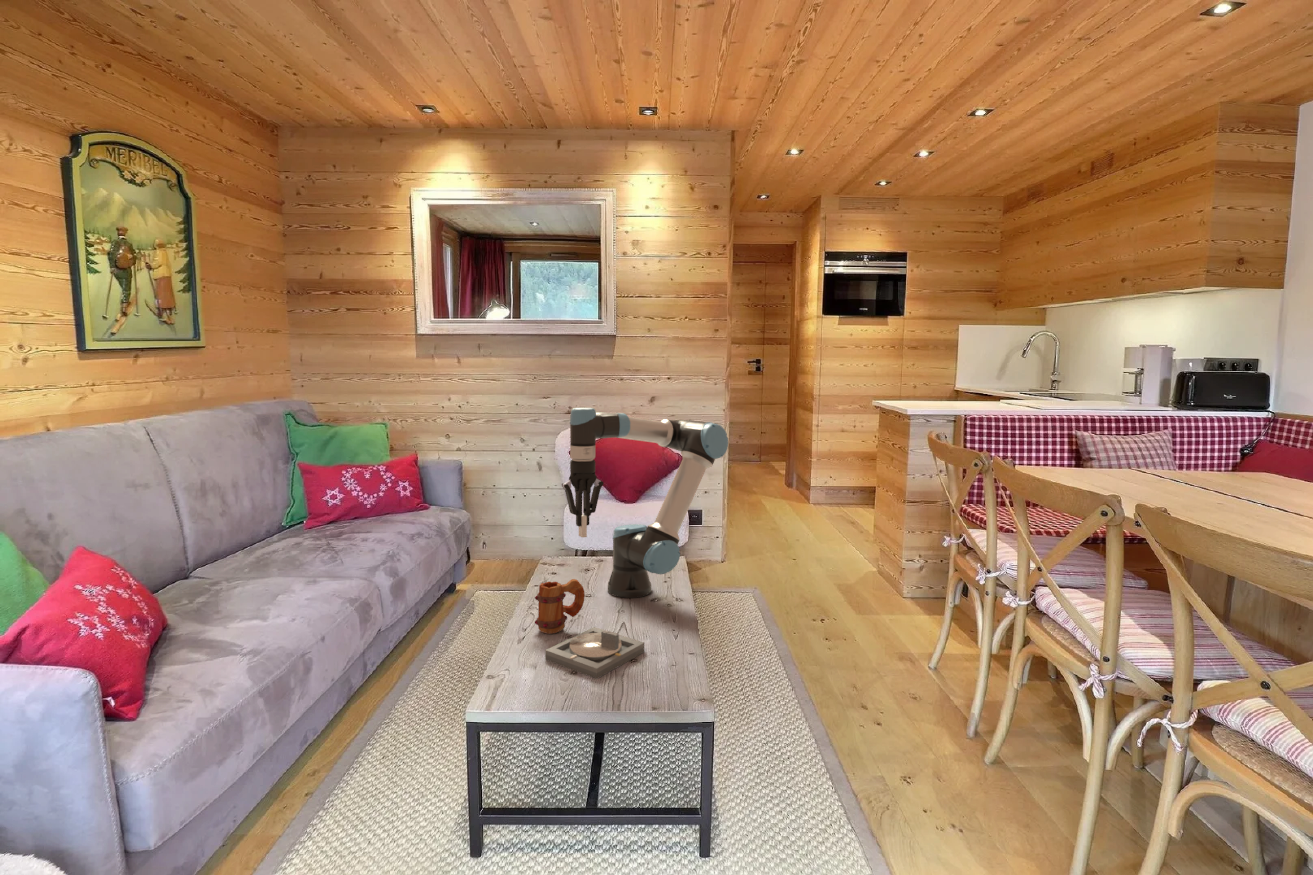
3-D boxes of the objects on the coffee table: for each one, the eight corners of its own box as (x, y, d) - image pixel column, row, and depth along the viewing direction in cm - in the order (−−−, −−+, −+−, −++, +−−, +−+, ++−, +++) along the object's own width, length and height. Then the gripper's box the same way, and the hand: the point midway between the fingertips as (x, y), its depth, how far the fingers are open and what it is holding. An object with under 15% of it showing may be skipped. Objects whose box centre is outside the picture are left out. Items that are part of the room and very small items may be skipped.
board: (594, 635, 199) (594, 625, 198) (644, 651, 188) (644, 641, 188) (545, 659, 183) (545, 648, 182) (596, 678, 172) (596, 667, 172)
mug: (536, 637, 197) (535, 587, 195) (533, 627, 205) (533, 578, 203) (586, 633, 201) (586, 583, 199) (582, 622, 209) (582, 574, 207)
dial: (558, 653, 183) (558, 631, 182) (590, 635, 195) (590, 615, 194) (601, 666, 176) (601, 643, 175) (631, 647, 188) (631, 626, 187)
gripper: (567, 462, 199) (567, 541, 201) (607, 459, 205) (607, 536, 208) (557, 458, 205) (557, 535, 208) (597, 456, 212) (597, 531, 214)
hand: (582, 536), depth 208 cm, fingers closed
